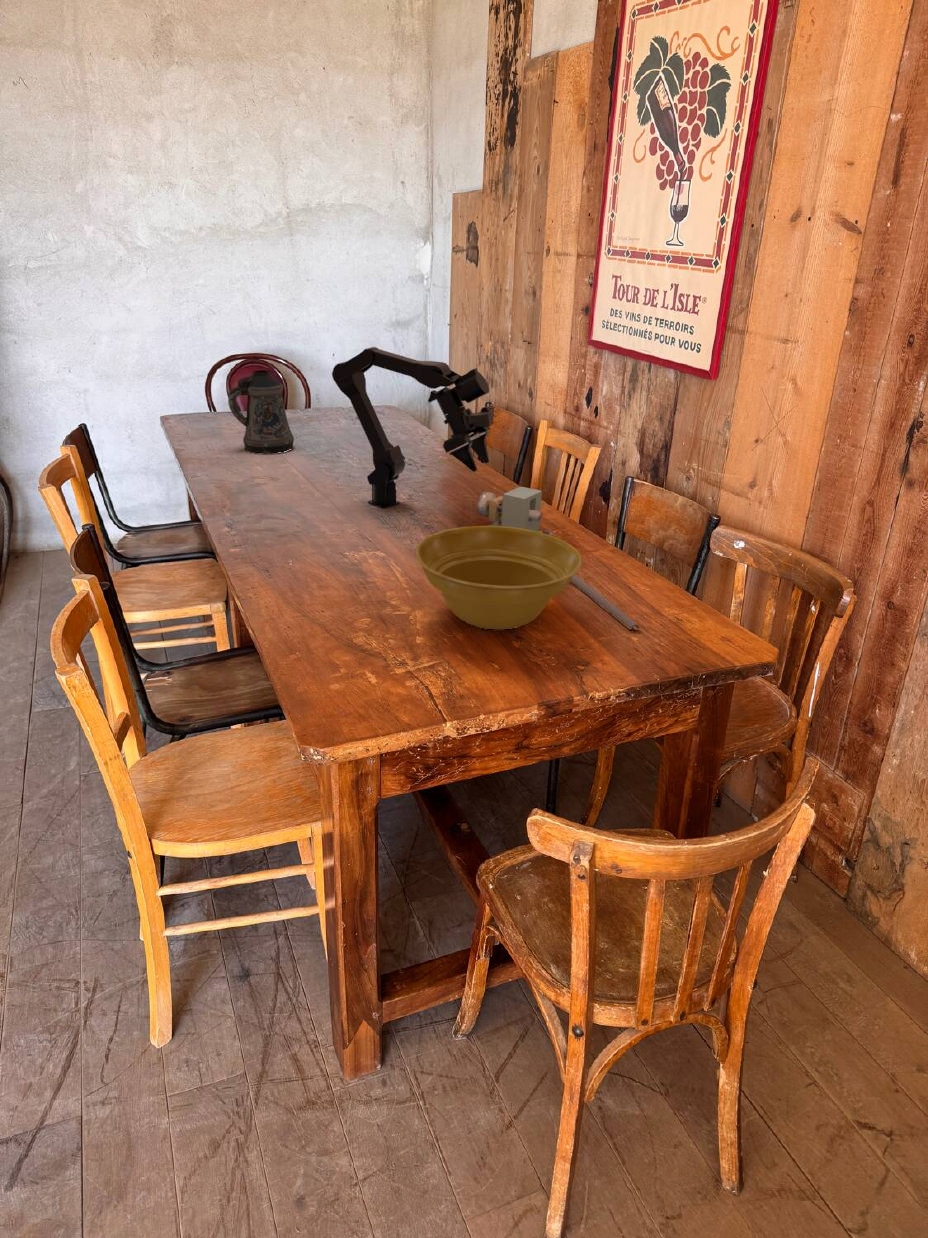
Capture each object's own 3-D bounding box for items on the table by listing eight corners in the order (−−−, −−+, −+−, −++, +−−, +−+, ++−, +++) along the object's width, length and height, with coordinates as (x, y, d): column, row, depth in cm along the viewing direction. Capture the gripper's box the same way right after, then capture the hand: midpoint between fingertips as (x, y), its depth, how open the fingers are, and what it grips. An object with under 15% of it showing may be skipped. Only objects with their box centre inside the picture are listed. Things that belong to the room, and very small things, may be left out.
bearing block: (479, 534, 211) (481, 489, 206) (498, 525, 218) (500, 481, 213) (535, 548, 203) (539, 502, 198) (553, 538, 210) (556, 493, 205)
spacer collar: (488, 520, 210) (489, 500, 208) (499, 515, 214) (500, 495, 212) (495, 522, 209) (496, 501, 207) (506, 516, 213) (507, 497, 211)
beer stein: (304, 447, 284) (301, 371, 273) (263, 458, 269) (257, 378, 258) (268, 440, 292) (263, 365, 281) (226, 450, 277) (219, 372, 266)
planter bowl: (603, 643, 158) (611, 577, 152) (437, 661, 149) (439, 592, 143) (541, 579, 185) (545, 521, 180) (397, 591, 177) (398, 530, 171)
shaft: (476, 517, 211) (477, 494, 209) (489, 512, 216) (490, 489, 213) (532, 531, 204) (534, 507, 201) (544, 524, 208) (546, 501, 206)
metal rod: (575, 581, 186) (576, 572, 185) (638, 632, 163) (640, 623, 162) (567, 581, 186) (568, 573, 185) (630, 634, 163) (631, 624, 162)
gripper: (467, 403, 201) (496, 462, 204) (493, 391, 217) (519, 446, 220) (430, 422, 207) (458, 480, 210) (457, 409, 222) (483, 463, 226)
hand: (481, 466), depth 216 cm, fingers open, 9 cm apart
